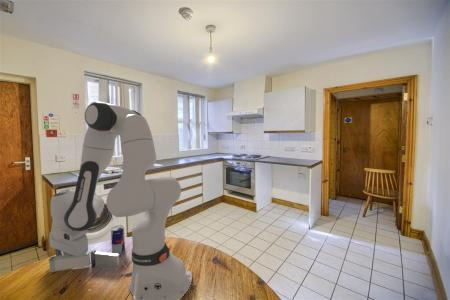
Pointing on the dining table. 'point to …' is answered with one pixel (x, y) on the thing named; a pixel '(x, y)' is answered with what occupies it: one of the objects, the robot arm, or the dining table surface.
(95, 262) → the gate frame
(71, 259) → the gate
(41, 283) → the dining table surface
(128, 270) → the dining table surface
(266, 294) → the dining table surface
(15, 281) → the dining table surface
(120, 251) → the energy drink
